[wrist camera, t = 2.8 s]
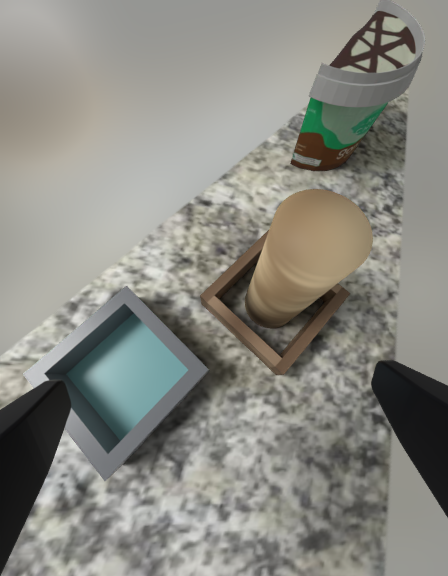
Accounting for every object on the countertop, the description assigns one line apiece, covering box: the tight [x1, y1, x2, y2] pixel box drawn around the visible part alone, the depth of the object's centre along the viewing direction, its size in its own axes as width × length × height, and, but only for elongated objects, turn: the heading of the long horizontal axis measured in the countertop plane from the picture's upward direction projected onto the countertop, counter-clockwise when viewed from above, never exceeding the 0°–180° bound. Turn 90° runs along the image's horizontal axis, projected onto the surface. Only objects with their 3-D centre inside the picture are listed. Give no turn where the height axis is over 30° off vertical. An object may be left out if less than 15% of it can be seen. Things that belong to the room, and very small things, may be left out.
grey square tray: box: [23, 286, 210, 481], centre depth 19 cm, size 9×9×3 cm
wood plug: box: [245, 189, 373, 328], centre depth 17 cm, size 4×4×12 cm
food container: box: [290, 0, 425, 171], centre depth 24 cm, size 12×6×10 cm, turn 145°
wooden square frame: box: [200, 230, 350, 375], centre depth 22 cm, size 9×9×2 cm
